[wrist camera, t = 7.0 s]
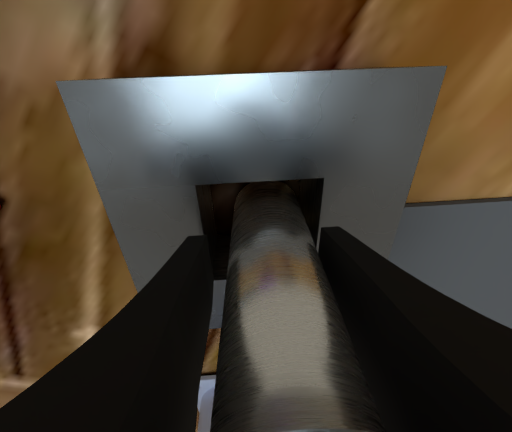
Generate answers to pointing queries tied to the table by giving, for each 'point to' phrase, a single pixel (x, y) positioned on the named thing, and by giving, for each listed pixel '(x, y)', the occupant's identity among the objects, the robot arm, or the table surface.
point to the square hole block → (250, 152)
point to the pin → (284, 329)
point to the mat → (460, 251)
